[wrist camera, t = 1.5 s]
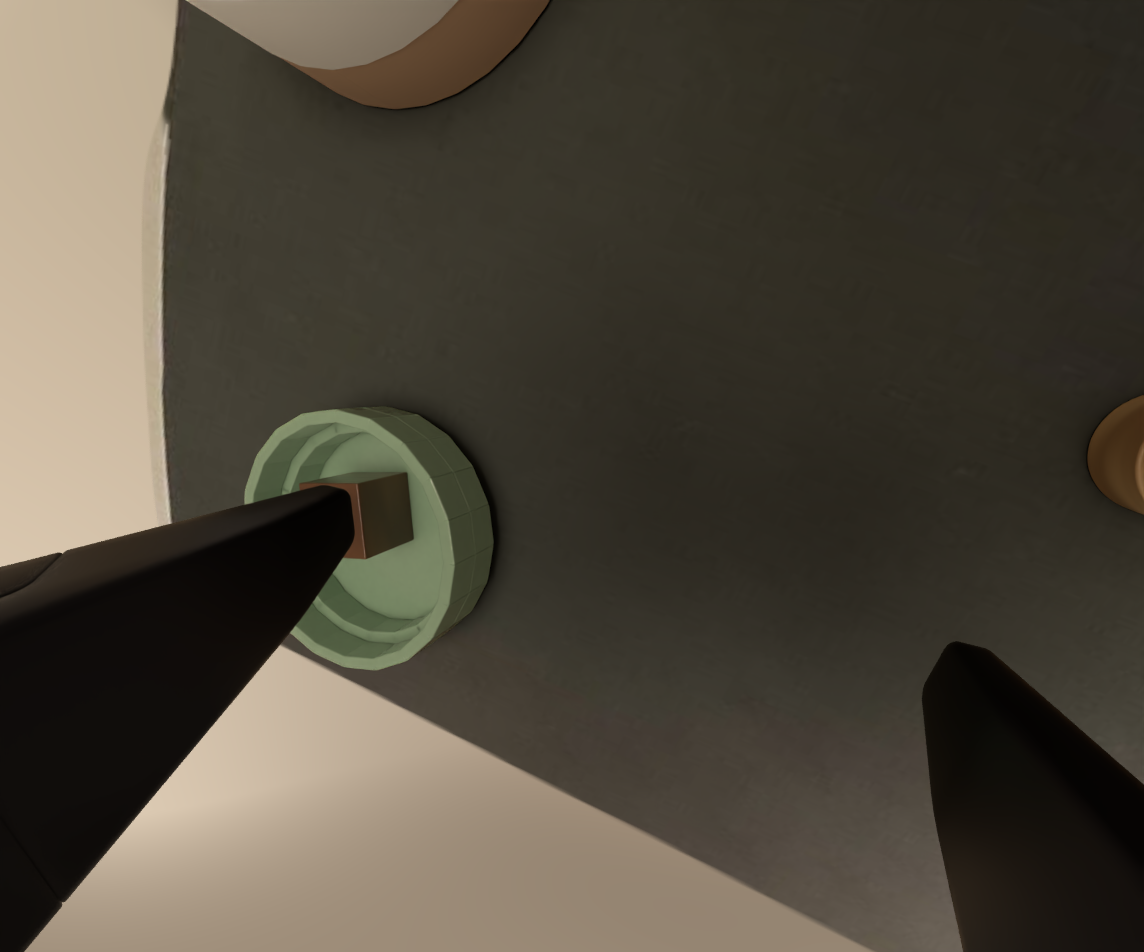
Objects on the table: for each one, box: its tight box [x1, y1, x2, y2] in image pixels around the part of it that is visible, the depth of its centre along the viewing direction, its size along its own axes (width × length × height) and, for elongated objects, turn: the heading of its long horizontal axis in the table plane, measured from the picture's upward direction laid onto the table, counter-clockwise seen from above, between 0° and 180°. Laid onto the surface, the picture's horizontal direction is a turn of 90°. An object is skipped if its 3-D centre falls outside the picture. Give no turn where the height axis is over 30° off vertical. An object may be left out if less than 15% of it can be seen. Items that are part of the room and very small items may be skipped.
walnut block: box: [299, 472, 414, 560], centre depth 27 cm, size 4×4×4 cm
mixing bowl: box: [244, 406, 494, 670], centre depth 28 cm, size 12×12×4 cm
